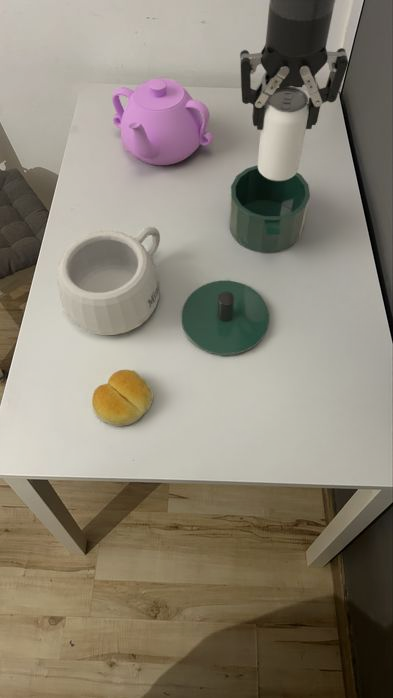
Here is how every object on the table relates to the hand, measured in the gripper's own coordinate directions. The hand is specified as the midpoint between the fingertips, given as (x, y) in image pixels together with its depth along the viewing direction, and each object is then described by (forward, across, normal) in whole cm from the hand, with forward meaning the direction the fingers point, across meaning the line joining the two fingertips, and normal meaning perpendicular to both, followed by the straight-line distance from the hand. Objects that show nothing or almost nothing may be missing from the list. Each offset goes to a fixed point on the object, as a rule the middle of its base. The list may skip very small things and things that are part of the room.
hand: (283, 125), depth 73 cm
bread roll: (+24, -24, -33) cm, 47 cm away
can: (+8, 0, 0) cm, 8 cm away
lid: (+23, -8, -18) cm, 30 cm away
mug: (+24, -26, -12) cm, 37 cm away
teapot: (+24, -21, +24) cm, 40 cm away
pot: (+23, 0, +3) cm, 24 cm away
